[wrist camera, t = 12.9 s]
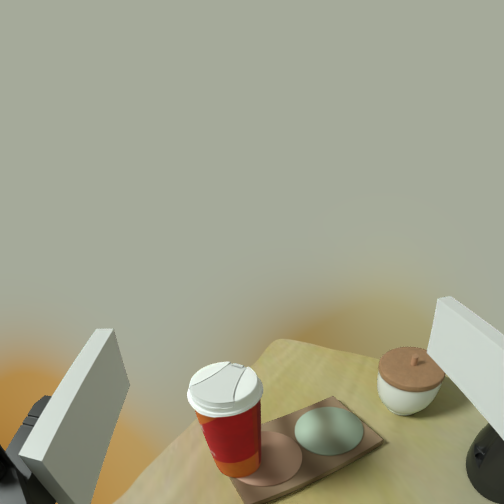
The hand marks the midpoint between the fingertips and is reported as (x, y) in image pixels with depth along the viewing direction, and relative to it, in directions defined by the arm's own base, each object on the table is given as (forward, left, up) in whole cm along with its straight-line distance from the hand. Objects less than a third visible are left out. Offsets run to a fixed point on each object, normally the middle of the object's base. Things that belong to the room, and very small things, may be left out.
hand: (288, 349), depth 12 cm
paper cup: (-3, -16, -28) cm, 32 cm away
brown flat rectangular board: (-11, -15, -29) cm, 34 cm away
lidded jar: (-30, -14, -29) cm, 44 cm away
